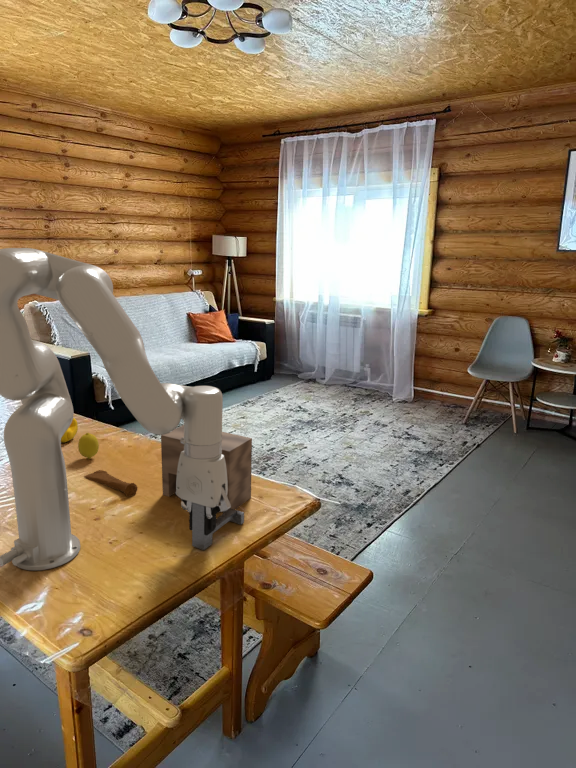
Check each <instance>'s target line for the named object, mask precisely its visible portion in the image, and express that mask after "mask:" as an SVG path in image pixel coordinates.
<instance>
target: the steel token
mask: <svg viewBox="0 0 576 768" xmlns="http://www.w3.org/2000/svg"><path fill="white" fill-rule="evenodd" d="M180 507H182V508H183V509H182V510H185V511H186V505H185V504H184V502H183V501H182V499H181V498H180Z"/></svg>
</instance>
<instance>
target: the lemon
mask: <svg viewBox="0 0 576 768" xmlns="http://www.w3.org/2000/svg"><path fill="white" fill-rule="evenodd" d="M99 444H100V443H99V441H98V438H97V437H96V436H95V434H92V433H89V432H86V433H85V434H83V435H81V436H80V437H79V440H78V444H77V448H78V452H79V453H80V455H81V456H82V457H84V458H87V459H88V460H90V459H92V458H93V457H95V456H96V455H97V454H98V452H99V446H100V445H99Z"/></svg>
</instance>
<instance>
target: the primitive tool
mask: <svg viewBox="0 0 576 768" xmlns="http://www.w3.org/2000/svg"><path fill="white" fill-rule="evenodd" d="M83 477H84V478H85V479H87V480H90V481H93V482H96V483H99V484H101V485H104V486H107V487H109V488H111V489H114V490H117V491H120V492H122V493H124V495H125V496H126V497H132V496H135V495H136V494H137V492H138V486H137V484H136V483H134V482H131V483H130V482H126V481H123V480H122V479H120V478H117V477H115V476H112V474H109V473H108V472H107V471H106V470H103V469H102V470H101V469H98V470H96V471H93V472H92V473H89V474H86V475H84V476H83Z"/></svg>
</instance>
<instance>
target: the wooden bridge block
mask: <svg viewBox="0 0 576 768" xmlns="http://www.w3.org/2000/svg"><path fill="white" fill-rule="evenodd" d="M182 437H184V424H182V425H180V426H177V427H176V429H174V430H173V431H172V432H170V433H168V434H164V435H160V443H161V444H160V446H161V448H160V450H161V451H160V452H161V455H160V456H161V482H162V483H161V484H162V488H161V489H162V495H163V496H166V497H171V496H172V495H174V494H176V479H177V468H178V462H179V458H180V454H181V452H182V451H184V444H182V443H181V442H180V440H181V438H182ZM252 450H253V438H252V437H250V436H249V437H247V436H243V435H239V434H234V433H230V432H225V431H222V454H223V455H224V458H225V463H226V469H227V482H228V492H227V497H228V500H229V502H230V505H231V507H230V508H231V509H234V510H235V509H236V510H238V509H239V508H240V507H241V506H243V505H244V504H245V503H246V502H247V501H248V500H250V499H252V469H253V468H252V467H253V466H252V463H253V462H252V460H253V459H252V458H253V457H252V456H253V455H252V454H253V453H252V452H253V451H252ZM243 503H244V504H243ZM239 506H240V507H239ZM222 512H223V511H222ZM222 512H221V513H222Z"/></svg>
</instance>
